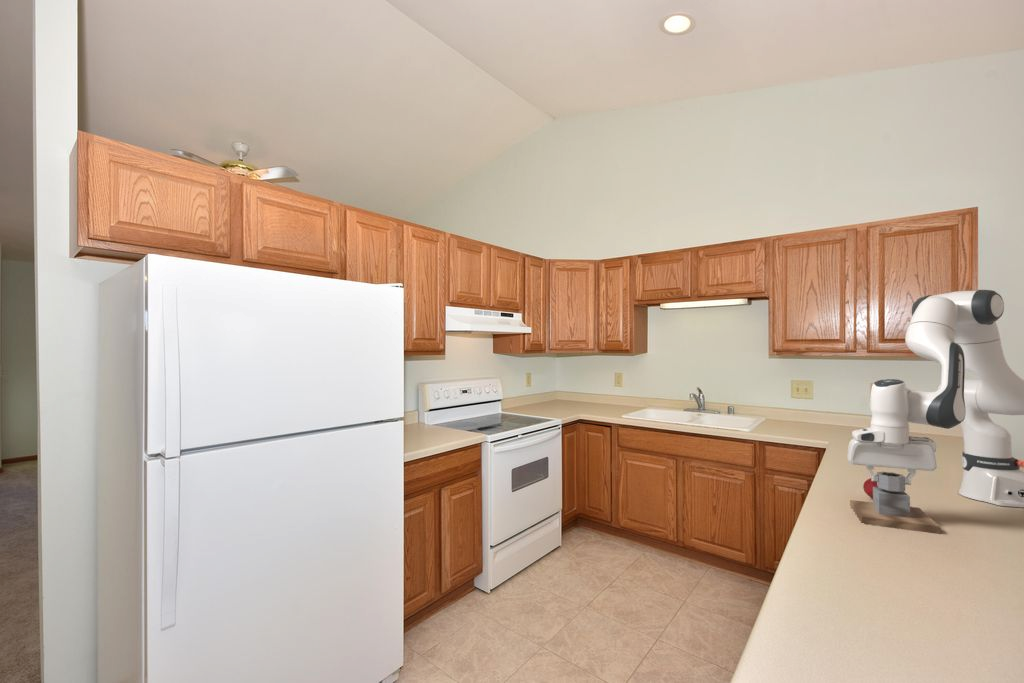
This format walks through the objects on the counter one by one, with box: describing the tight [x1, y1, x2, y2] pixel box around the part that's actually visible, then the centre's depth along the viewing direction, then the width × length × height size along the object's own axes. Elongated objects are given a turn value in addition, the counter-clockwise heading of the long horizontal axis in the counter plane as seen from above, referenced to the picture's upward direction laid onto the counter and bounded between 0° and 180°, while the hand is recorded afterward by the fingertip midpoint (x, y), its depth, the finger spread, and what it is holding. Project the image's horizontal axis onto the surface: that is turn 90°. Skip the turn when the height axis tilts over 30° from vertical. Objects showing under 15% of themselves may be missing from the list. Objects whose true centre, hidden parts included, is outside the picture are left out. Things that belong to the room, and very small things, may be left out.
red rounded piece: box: [862, 477, 878, 500], centre depth 153 cm, size 6×6×8 cm
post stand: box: [849, 487, 941, 534], centre depth 136 cm, size 17×16×12 cm
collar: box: [876, 471, 906, 492], centre depth 136 cm, size 6×6×4 cm
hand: (890, 482), depth 136 cm, fingers closed on collar, 6 cm apart
